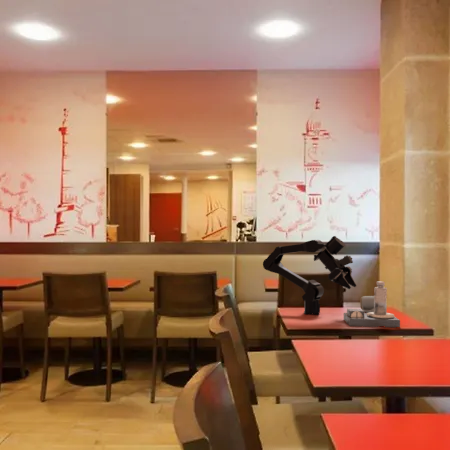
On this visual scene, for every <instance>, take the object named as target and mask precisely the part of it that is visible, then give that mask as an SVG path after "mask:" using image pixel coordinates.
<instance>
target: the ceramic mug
mask: <svg viewBox="0 0 450 450" xmlns="http://www.w3.org/2000/svg"><path fill="white" fill-rule="evenodd" d="M359 304H360V309H362V310H363V311H364V313H365V312H366V313H369V312H374V295H364V296H361V297H360V302H359Z"/></svg>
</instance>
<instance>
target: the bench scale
mask: <svg viewBox="0 0 450 450" xmlns="http://www.w3.org/2000/svg"><path fill="white" fill-rule="evenodd" d="M344 320H345V321H346V322H345V321H344ZM343 321H344V322H345V323H346V324H347V325H348V326H349V327H362V326H363V327H365V328H366V327H369V328H371V327H372V328H373V327H374V328H379V327H378V326H385V327H384V328H396V327H400V328H401V320H400V319H399V318H397V317H396V316H395V314H394V313H390V312H387V313H386V315H376V314H374V312H369V313H365V312H364V311H363V310H362V309H361V308H347V309H346V312H343ZM376 326H377V327H376Z"/></svg>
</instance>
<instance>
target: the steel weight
mask: <svg viewBox="0 0 450 450" xmlns="http://www.w3.org/2000/svg"><path fill="white" fill-rule="evenodd" d="M385 283H386V282H385V281H376V286H375V287H374V289H373V290H374V295H373V296H374V314H376V315H386V313H388V312H387V307H388V306H387V303H388V302H387V301H388V300H387V299H388V297H387V296H388V294H387V293H388V287H385Z"/></svg>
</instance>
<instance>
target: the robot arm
mask: <svg viewBox="0 0 450 450" xmlns="http://www.w3.org/2000/svg"><path fill="white" fill-rule="evenodd" d="M345 247H346V244H345V242H344V241H343V240H341V239H340V238H338V237H337V236H336V235H334V236H332V237H331V238H330V239H329V241H328V242H323V241H321V240H320V239H311V240H308V241H306V242H303V243H297V244H291V245H279V246H276V247H275V248H274V250H273V251H272V252H271V253H270V254H269V255H268V256H267V257H266V258H265V259H264V260H263V262H262V265H263V266H262V267H263V270H265V271H268V272H271V273H275V274H278V275H279V276H282V278H284V279H286V280H287V281H289V282H291V283H293V284H294V285H296V286H297V287H299V288H301V289H302V291H303V292H304V294H303V295H302V301H304V311H303V313H304V314H305V315H316V316H317V315H320V313H321V304H320V302H319V301H320V300H321V298H322V296H323V295H324V293H325V288H324V286H323V285H322V283H319V282H317V280H315V279H311V280H310V279H309V280H307V279H305V278H303V277H302V276H300V275H298V274H297V273H295V272H293V271H292V270H290V269H288V268H287V267H286V266H284V265H283V263H282V260H283V257H284V255H285V254H294V253H295V254H296V253H300V252H302V253H303V252H304V253H305V252H306V253H317V254H313V262H316V261H320V262H321V263H322V265H323V266H324V268H325V270H328V271H329V272H330V273H329V274H328V275H327V276H328V277H327V279H328V280H329V281H330V282H332V283H335V284H338V286H339V285H340V286H342V287H344V288H346V289H348V290H350V289H351V288H352V287H354V288H356V287H357V284H356V282H355V280H354V278H353V276H352V273H353V271H352V270H353V269H352V268H351V267H350V266H349V264H353V263H354V260H353V258H352V256H351V255H348V254H347V255H344V256H343V258H340V259H338V258H336V257H334V256H333V255H336V256H337V255H338V254H339V253H340V252H341V251H342V250H343V249H344V248H345ZM347 265H348V266H347Z"/></svg>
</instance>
